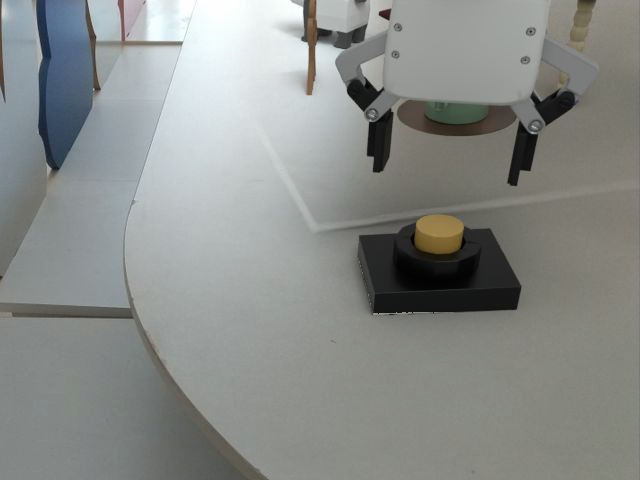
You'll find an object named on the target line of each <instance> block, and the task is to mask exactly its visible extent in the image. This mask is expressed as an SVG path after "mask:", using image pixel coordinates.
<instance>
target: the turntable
mask: <svg viewBox="0 0 640 480" xmlns="http://www.w3.org/2000/svg"><path fill="white" fill-rule="evenodd" d="M424 110H425V101H416V100H406V101H405V102H403V103H402V104H401V105H400V106H399V107H398V109H397V111H396V116H397V118H398V120H399V121H400V122H401V123H402V124H404V125H405V126H407V127H409V128H411V129H413V130H415V131H419V132H421V133H426V134H432V135H438V136H446V137H469V136H470V137H472V136H480V135H487V134H492V133H495V132H497V131H501V130H504V129H505V128H508V127H510V126H511V125H512V124H513V123H514V122H515V121H516V119H517V118H518V117H517V116H516V114H515V113H514V111H513V110H512V108H511V107H510V106H509V105H506V106H497V105H489V110H488V115H487V116H486V117H485V118H484V119H482V120H480V121H477V122H474V123H468V124H446V123H441V122H437V121H434V120H431V119H430V118H428V117H427V116H426V115H425V113H424Z"/></svg>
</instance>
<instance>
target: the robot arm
mask: <svg viewBox="0 0 640 480" xmlns="http://www.w3.org/2000/svg"><path fill="white" fill-rule="evenodd" d="M551 5H552V0H392V3H391V7H390V9H391V14H390V21H388V27H387V29H385V30H384V31H381V32H379V33H376V34H375V35H372V36H370V37H369V38H367V39H364V41H362V42H357V43H356V44H354V45H351V46H350V47H349V48H345V49H343V50H342V51H340V52H339V54H338V55H337V57H336V58H335V60H334V64H335V67H336V69H337V71H338V74H339V76H340V78H341V81H342V82H343V84H344V85H345V88H346V93H347V96H348V97H349V98H350V99H351V100H352V101H353V102H354V103H355V105H356V106H357V108H359V109H360V110H361V111H362V112H363V116H364V117H363V118H364V119H365V120H366V121H367V122H368V129H367V144H366V157H369V158H373V161H372V163H373V164H372V173H375V174H380V173H381V172H384V171H385V168H386V166H387V163H388V161H389V160H390V155H391V149H392V147H391V146H392V136H393V127H394V116H395V113H394V111H393V108H392V107H393V106H394V105H395V104H396V103H397V102H398V101H399V100H406V101H408V100H414V101H430V102H445V103H461V104H477V105H495V106H496V105H497V106H504V107H505V106H506V107H507V106H508V105H509V106H510V107H511V108H512V110H513V111H512V112H514V113H515V114H516V116H517V117H516V116H515V117H516V118H517V119H518V120H519V121H518V126H517V131H516V135H515V139H514V144H513V150H512V155H511V160H510V166H509V171H508V175H507V181H506V184H509V186H511V187H518V185H519V184H518V183H519V180H520V179H519V178H520V174H521V171H522V172H531V171H532V167H533V163H534V157H535V153H536V148H537V143H538V139H539V134H541V133H542V132H543V131H544V130H545V128H546V127H547V126H549V125H550V124H552V123H553V122H555V121H556V120H558V119H559V118H561V117H562V116H563V115H565V114H567V113H568V112H569V111H571V110H572V109H573V108H574V104H575V103H576V101H577V100H578V101H579V99H580V98H581V97H582V96H584V95H585V93H586V91H588V89H589V88H590V87H591V86H592V85H593V84H594V82H595V81H596V80H597V79H598V77H599V73H600V65H599V63H598V62H597V61H596V60H594V59H592V58H590V57H588V56H587V55H585V54H584V53H583V52H582V53H580V52H578V51H577V50H575V49H573V48H571V47H570V46H568V45H567V44H566V43H565V42H563V41H561V40H559V39H558V38H556V37H555V36H553V35H551V34H549V33H547V31H548V25H549V17H550V13H551V12H550V11H551ZM383 55H384V56H383ZM380 56H383V64H382V87H381V88H380V89H379V90H378V89H377V88H376V87H375V86H374V85H373V84H372V83H371V82H370V80H369V79H368V78H367V77H366V76H365V75H364V74H363V70H362V66H361V65H362V64H364V63H367V62H370V61H372V60H373V59H376V58H378V57H380ZM542 62H545V63H546V64H548V65H549V66H551V67H553V68H555V69H556V70H558V71H559V72H560V71H562V72H563V73H565V74H567V75H568V76H569V78H568V80H567V81H566V83H565V84H564V85H563V86H562V87H561V88H560V89H558V90H557V91H554V92H553V93H551V94H550V96H549V95H548V96H546V97H547V98H546V97H545V98H546V99H545V98H544V99H542V97H541V96H540V95H539V93H538V92H537V90H536V89H535V86H536V82H537V79H538V76H539V72H540V69H541V64H542ZM511 108H510V109H511ZM514 113H513V114H514Z"/></svg>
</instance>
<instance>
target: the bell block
mask: <svg viewBox="0 0 640 480" xmlns="http://www.w3.org/2000/svg"><path fill="white" fill-rule="evenodd" d="M416 223H417V221H415V222H411V223H409V224H407V225H405V226H402V227H401V228H400V230H399V231H398V232H393V233H374V234H359V235H358V242H357V243H358V245H357V259H358V258H359V260H358V262H359V261H360V264H359V266H360V265H361V268H360V270H361V269H362V272H363V275H362V277H363V276H364V279H363V281H364V280H365V283H366V287H367V291H368V294H369V299H370V302H369V304H370V303H371V306H370V308H371V307H372V310H371V312H372V311H373V313H378V314H379V313H396V312H397V313H402V312H406V313H408V312H412V313H413V312H433V313H432V314H435V313H434V312H454V313H473V312H474V313H477V312H493V311H494V312H497V311H499V312H501V311H517V310H518V307H519V306H518V305H519V302H520V298H521V297H520V296H521V292H522V288H523V287H522V285H521V283H520V280H519V279H518V277H517V275H516V273H515V271H514V269H513V268H512V266H511V264H510V262H509V260H508V258H507V256H506V255H505V252H504V251H503V249H502V247H501V245H500V244H499V242H498V240H497V238H496V235H495V234H494V232H493V230H492V229H491V228H490V227H489V228H487V227H485V228H470V227H467V226H466V225H464V231H463V237H462V243H461V248H460V249H459V250H458V251H455V252H453V253H448V254H434V253H430V252H425V251H421V250H420V249H418V248H416V247H415V245H414V238H415V229H416ZM362 272H361V273H362ZM365 283H364V284H365ZM366 287H365V288H366ZM367 291H366V292H367ZM369 299H368V300H369Z"/></svg>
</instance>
